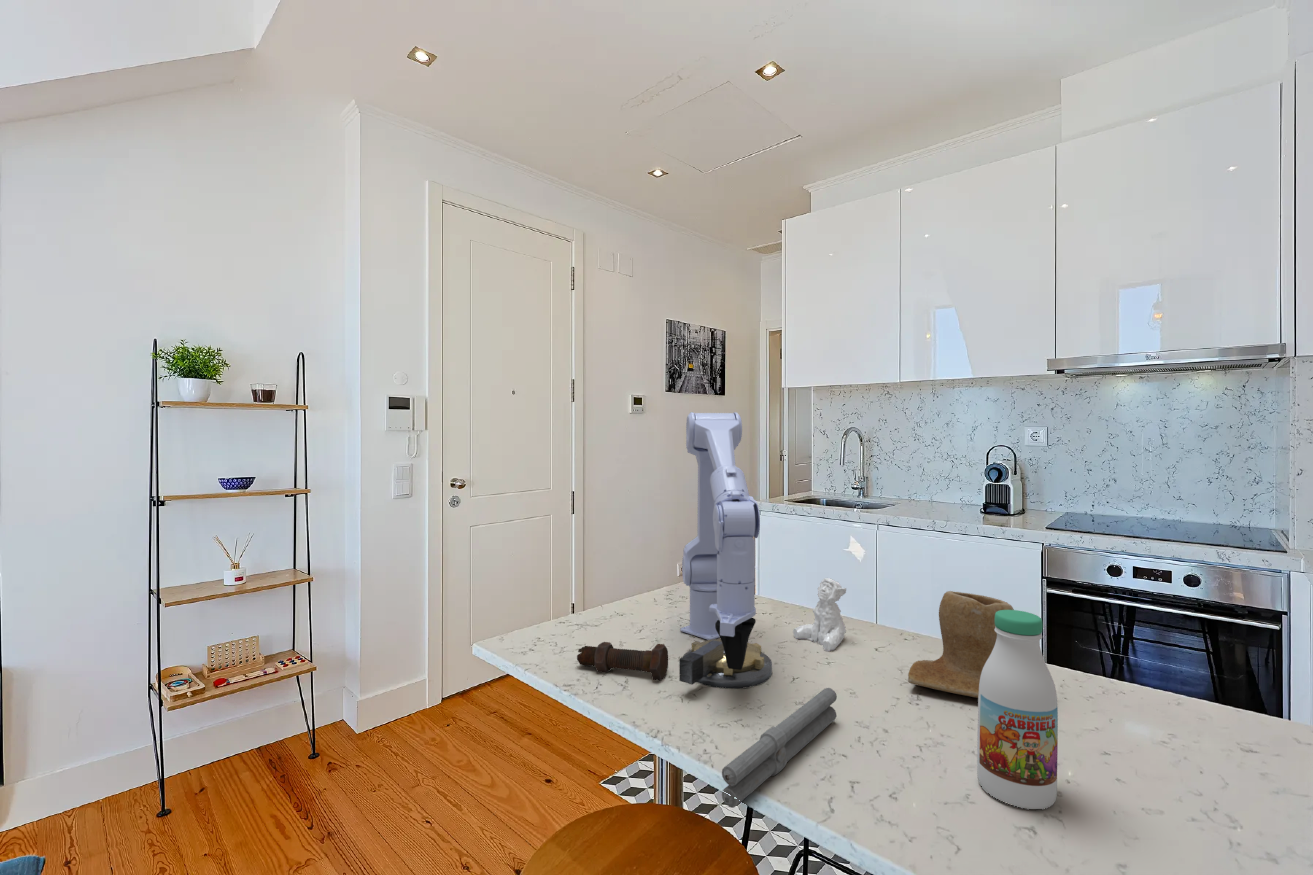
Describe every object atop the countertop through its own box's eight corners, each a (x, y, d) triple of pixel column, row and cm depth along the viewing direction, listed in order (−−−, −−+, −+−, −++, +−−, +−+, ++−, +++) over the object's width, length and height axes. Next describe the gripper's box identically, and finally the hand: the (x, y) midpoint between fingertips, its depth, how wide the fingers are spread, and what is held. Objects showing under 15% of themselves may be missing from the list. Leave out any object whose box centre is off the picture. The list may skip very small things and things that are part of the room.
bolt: (582, 675, 104) (666, 683, 99) (570, 670, 100) (657, 679, 95) (588, 640, 107) (670, 647, 102) (577, 634, 102) (662, 641, 98)
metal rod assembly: (820, 718, 85) (820, 683, 85) (839, 724, 83) (839, 688, 83) (716, 806, 65) (716, 761, 65) (737, 817, 64) (738, 770, 64)
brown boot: (1018, 684, 96) (1019, 590, 96) (1022, 716, 85) (1023, 611, 85) (914, 666, 103) (915, 578, 103) (906, 693, 93) (908, 596, 92)
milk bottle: (962, 772, 72) (965, 605, 71) (1024, 769, 72) (1026, 603, 72) (1005, 814, 64) (1008, 627, 63) (1074, 810, 65) (1077, 625, 64)
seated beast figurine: (790, 637, 117) (790, 575, 117) (821, 629, 122) (821, 570, 121) (828, 653, 109) (829, 587, 109) (860, 643, 114) (860, 580, 113)
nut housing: (719, 645, 112) (719, 637, 112) (789, 668, 102) (789, 659, 102) (663, 669, 102) (663, 659, 102) (735, 697, 91) (735, 686, 91)
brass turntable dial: (710, 640, 110) (710, 618, 110) (777, 656, 103) (777, 633, 103) (650, 676, 95) (650, 650, 95) (724, 697, 87) (724, 670, 87)
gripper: (719, 566, 100) (719, 647, 101) (699, 589, 87) (699, 683, 87) (762, 569, 98) (761, 652, 99) (748, 593, 84) (748, 689, 85)
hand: (735, 667), depth 93 cm, fingers closed
